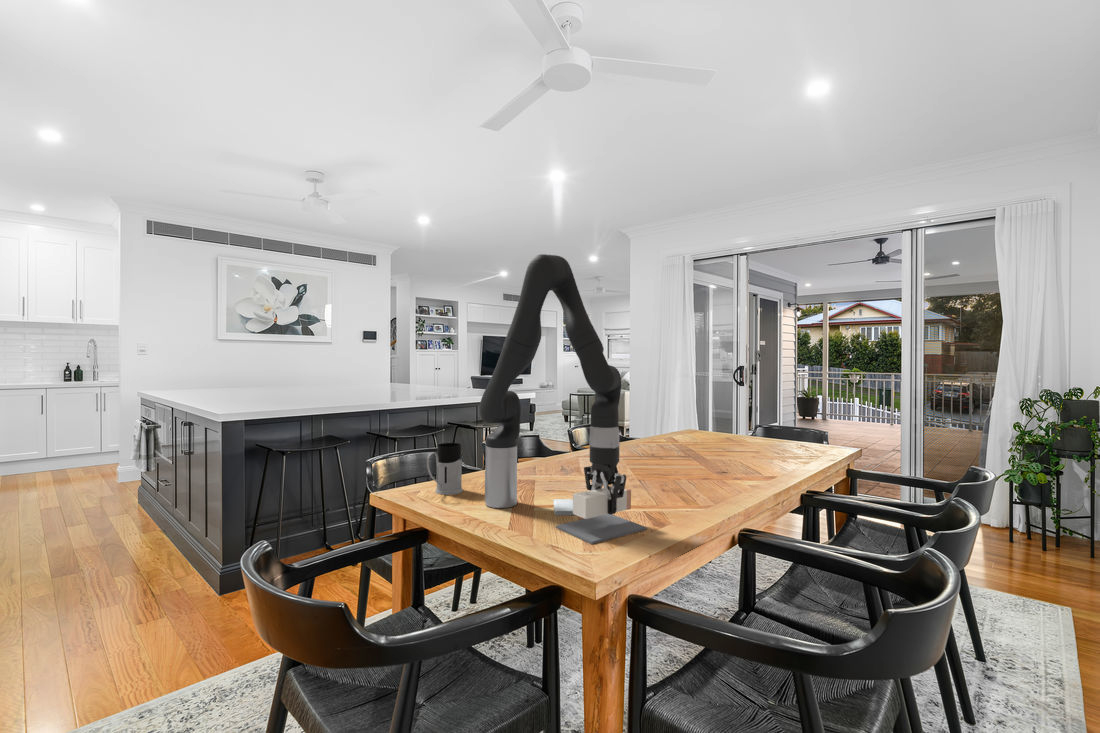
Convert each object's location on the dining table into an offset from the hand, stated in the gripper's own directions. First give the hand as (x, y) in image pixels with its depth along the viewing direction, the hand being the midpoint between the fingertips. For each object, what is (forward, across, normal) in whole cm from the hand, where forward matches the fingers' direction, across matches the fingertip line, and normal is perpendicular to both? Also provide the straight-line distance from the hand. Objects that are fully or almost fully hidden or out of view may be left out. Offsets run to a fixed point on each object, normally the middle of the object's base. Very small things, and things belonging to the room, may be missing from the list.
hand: (604, 510), depth 129 cm
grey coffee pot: (+4, -54, -20) cm, 58 cm away
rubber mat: (+4, 0, -1) cm, 4 cm away
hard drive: (+5, -19, +3) cm, 20 cm away
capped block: (-3, 0, -8) cm, 8 cm away
